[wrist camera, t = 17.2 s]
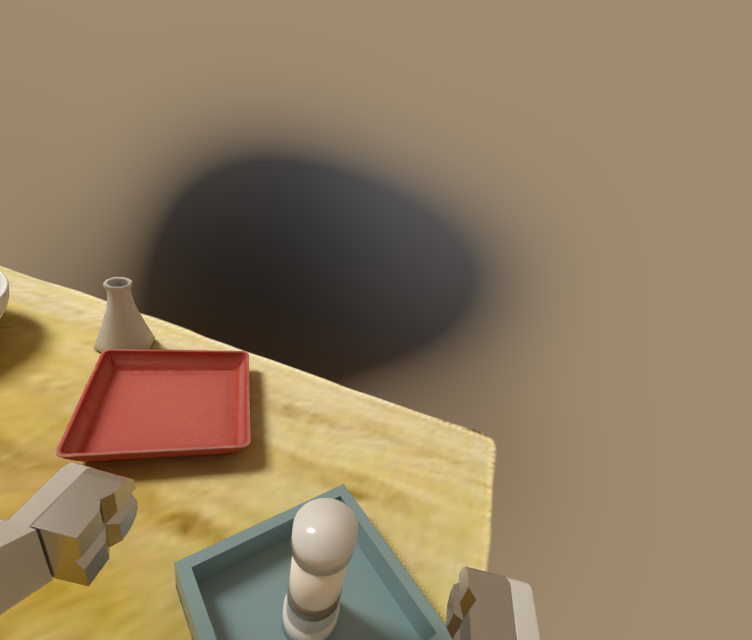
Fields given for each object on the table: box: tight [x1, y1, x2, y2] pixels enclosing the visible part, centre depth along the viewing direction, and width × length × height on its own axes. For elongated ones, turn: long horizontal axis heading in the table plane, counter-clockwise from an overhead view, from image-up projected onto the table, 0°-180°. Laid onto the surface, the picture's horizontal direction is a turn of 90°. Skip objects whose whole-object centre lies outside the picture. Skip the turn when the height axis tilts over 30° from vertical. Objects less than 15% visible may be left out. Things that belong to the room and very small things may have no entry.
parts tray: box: [174, 484, 452, 640], centre depth 34 cm, size 16×16×4 cm
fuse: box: [282, 498, 358, 640], centre depth 32 cm, size 4×4×12 cm
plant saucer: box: [56, 349, 251, 462], centre depth 52 cm, size 18×18×3 cm
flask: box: [94, 277, 155, 353], centre depth 59 cm, size 7×7×10 cm
